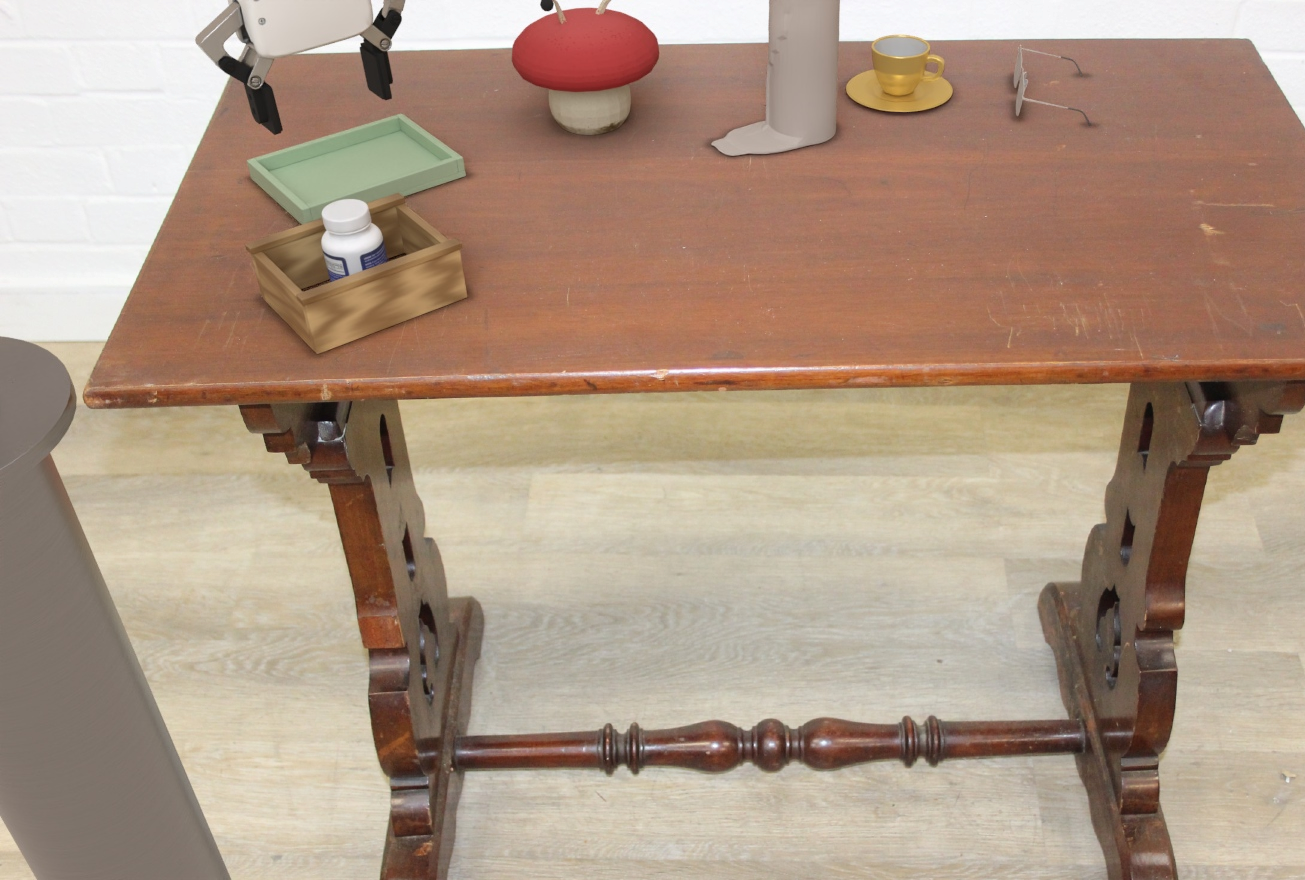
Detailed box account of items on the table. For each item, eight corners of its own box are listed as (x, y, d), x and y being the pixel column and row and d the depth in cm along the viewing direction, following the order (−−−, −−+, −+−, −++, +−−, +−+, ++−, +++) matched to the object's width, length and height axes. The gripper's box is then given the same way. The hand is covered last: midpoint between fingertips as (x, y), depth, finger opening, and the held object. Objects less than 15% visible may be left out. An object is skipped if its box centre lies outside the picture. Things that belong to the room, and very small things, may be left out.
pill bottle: (392, 279, 129) (375, 191, 123) (396, 308, 125) (378, 219, 119) (333, 287, 128) (313, 199, 122) (336, 317, 124) (314, 228, 118)
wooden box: (315, 356, 119) (301, 300, 115) (259, 298, 126) (244, 243, 123) (471, 297, 126) (462, 242, 122) (409, 245, 133) (398, 192, 130)
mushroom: (560, 166, 145) (544, 24, 136) (495, 112, 156) (477, -24, 146) (690, 128, 152) (684, -10, 142) (620, 79, 162) (610, -53, 152)
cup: (833, 107, 155) (835, 60, 152) (861, 65, 164) (863, 20, 161) (939, 121, 153) (943, 73, 149) (962, 77, 161) (966, 31, 158)
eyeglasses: (1012, 71, 162) (1019, 38, 160) (1081, 79, 162) (1089, 46, 159) (1016, 124, 152) (1023, 89, 149) (1090, 132, 151) (1098, 97, 149)
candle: (702, 137, 150) (695, -53, 137) (816, 111, 155) (820, -75, 142) (731, 164, 145) (727, -31, 132) (847, 137, 150) (854, -54, 137)
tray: (306, 229, 136) (301, 209, 135) (251, 178, 144) (246, 159, 143) (466, 175, 144) (463, 157, 143) (405, 130, 152) (401, 112, 151)
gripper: (360, -141, 110) (400, 68, 121) (144, -93, 102) (208, 126, 113) (405, -120, 105) (442, 96, 117) (182, -67, 98) (245, 159, 109)
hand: (327, 111), depth 115 cm, fingers open, 9 cm apart
